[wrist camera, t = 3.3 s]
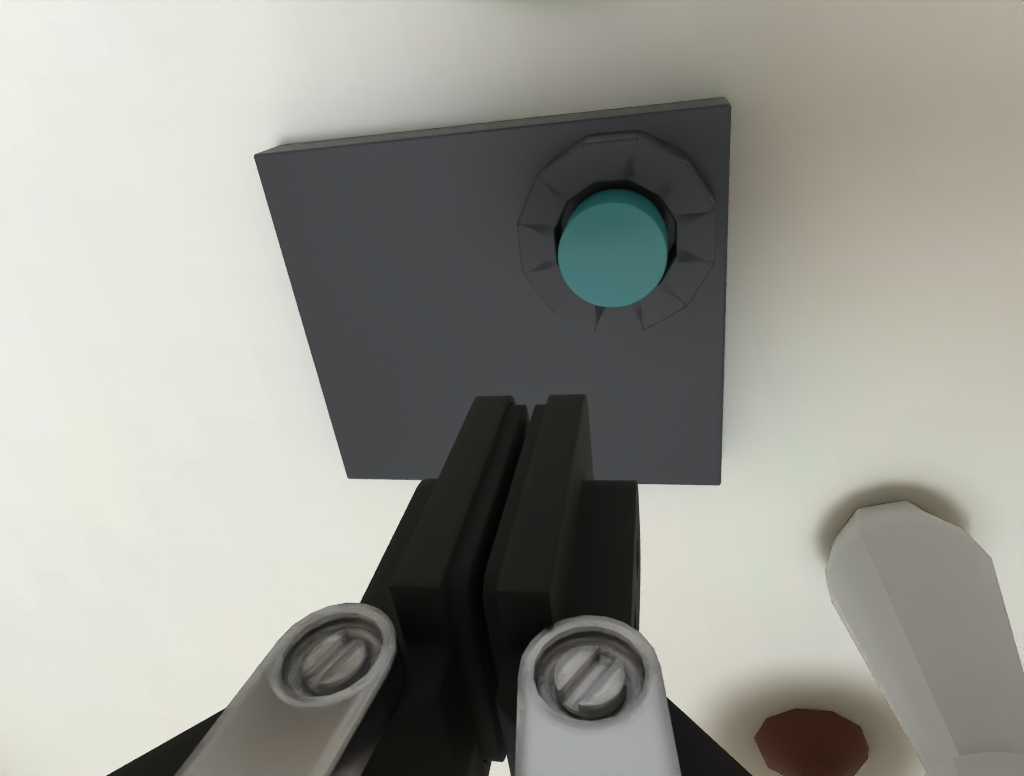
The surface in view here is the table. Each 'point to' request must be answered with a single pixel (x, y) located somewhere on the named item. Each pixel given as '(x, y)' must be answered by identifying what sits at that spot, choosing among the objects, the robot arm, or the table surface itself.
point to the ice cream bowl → (812, 744)
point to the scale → (509, 284)
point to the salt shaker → (933, 637)
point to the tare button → (613, 248)
